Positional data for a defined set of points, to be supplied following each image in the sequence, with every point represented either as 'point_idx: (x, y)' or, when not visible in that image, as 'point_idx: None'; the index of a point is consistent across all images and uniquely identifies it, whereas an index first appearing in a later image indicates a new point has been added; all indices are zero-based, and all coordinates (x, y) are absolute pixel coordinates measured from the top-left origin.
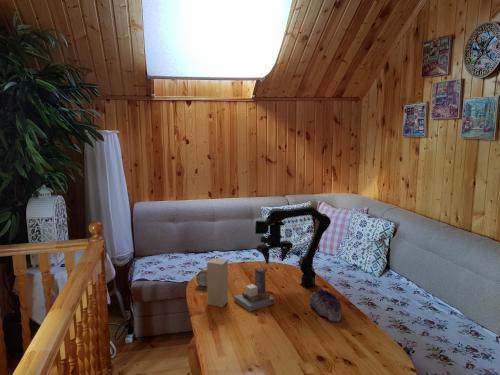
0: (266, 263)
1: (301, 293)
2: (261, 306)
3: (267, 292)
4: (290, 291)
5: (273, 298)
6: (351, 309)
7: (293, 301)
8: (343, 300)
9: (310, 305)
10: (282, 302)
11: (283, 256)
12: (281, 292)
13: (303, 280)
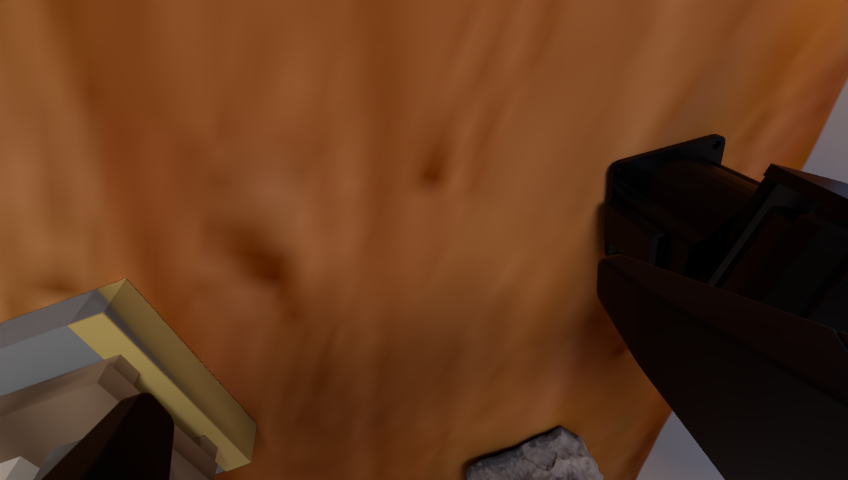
0: (120, 414)
1: (516, 315)
2: None
3: (190, 469)
4: (456, 273)
5: (247, 462)
6: (624, 473)
7: (404, 406)
8: (666, 410)
9: (466, 475)
10: (324, 413)
11: (703, 432)
12: (373, 278)
13: (637, 256)
